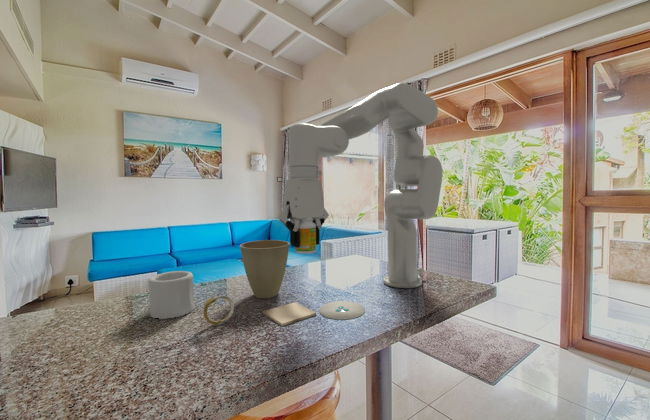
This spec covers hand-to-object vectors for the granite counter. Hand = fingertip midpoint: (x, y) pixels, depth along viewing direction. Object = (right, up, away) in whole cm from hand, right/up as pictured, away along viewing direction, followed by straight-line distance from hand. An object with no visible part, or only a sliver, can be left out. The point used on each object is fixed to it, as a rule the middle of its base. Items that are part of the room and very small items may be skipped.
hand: (305, 244), depth 78 cm
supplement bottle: (0, -2, 0) cm, 2 cm away
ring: (-20, -19, -5) cm, 28 cm away
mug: (-37, -19, +5) cm, 42 cm away
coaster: (+10, -18, +3) cm, 20 cm away
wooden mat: (-4, -18, +1) cm, 19 cm away
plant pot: (-13, -18, +17) cm, 27 cm away
